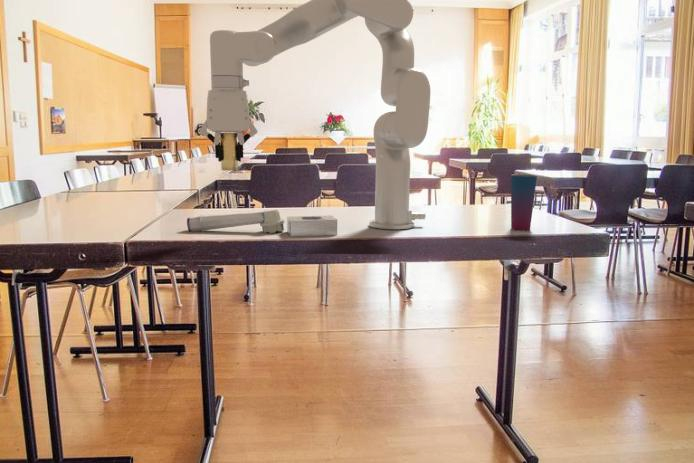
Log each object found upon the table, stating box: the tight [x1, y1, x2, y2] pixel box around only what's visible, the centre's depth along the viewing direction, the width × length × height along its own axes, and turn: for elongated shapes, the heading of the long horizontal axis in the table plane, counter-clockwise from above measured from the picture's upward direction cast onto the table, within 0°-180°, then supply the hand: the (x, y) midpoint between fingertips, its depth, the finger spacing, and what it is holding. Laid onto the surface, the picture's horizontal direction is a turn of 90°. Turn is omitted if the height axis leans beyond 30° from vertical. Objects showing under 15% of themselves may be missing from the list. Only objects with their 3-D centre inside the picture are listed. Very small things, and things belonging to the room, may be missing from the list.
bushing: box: [220, 132, 239, 172], centre depth 145 cm, size 4×4×9 cm
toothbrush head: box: [186, 208, 286, 234], centre depth 156 cm, size 5×7×25 cm
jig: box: [286, 215, 338, 237], centre depth 154 cm, size 12×7×4 cm, turn 104°
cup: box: [510, 173, 538, 231], centre depth 162 cm, size 7×7×15 cm
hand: (229, 160), depth 145 cm, fingers closed on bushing, 4 cm apart
